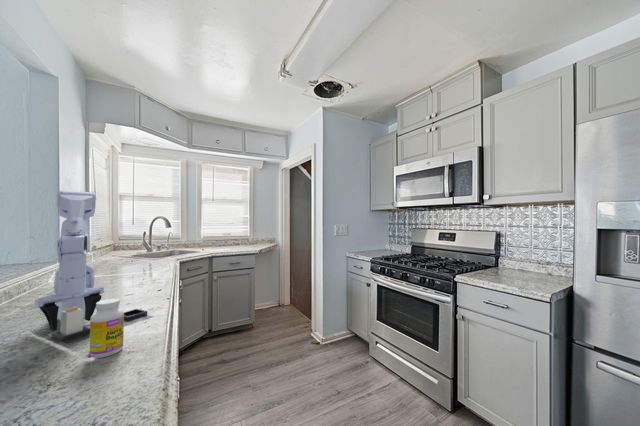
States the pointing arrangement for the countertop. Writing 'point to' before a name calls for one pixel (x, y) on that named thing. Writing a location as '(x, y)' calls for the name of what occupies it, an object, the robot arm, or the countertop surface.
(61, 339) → the panel
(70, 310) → the white rectangular block
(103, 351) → the supplement bottle
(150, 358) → the countertop surface
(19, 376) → the countertop surface
